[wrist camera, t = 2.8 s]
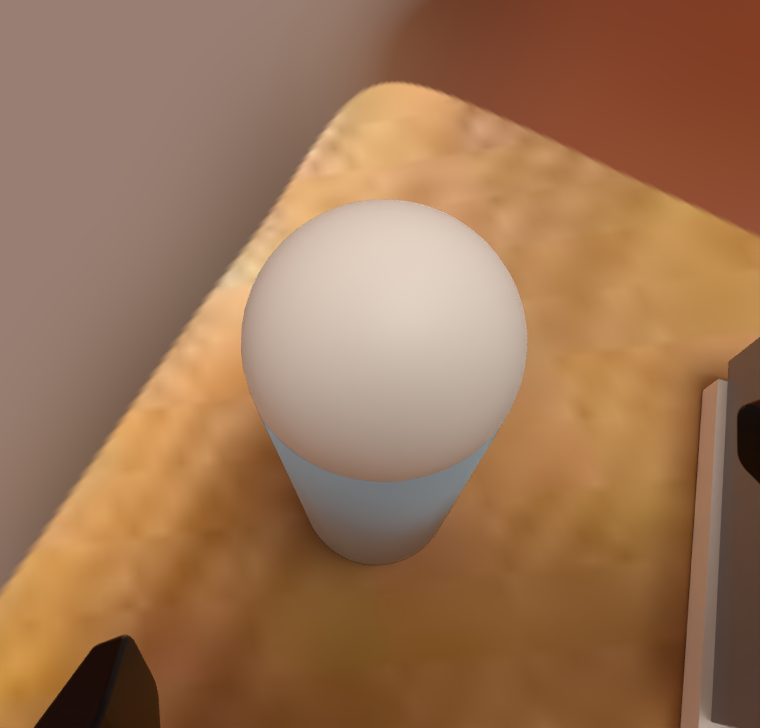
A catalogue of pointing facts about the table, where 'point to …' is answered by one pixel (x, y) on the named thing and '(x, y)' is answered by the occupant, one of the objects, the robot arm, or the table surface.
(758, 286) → the table surface
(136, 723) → the robot arm
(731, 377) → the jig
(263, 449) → the table surface
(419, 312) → the ball-topped blue post
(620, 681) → the table surface
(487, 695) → the table surface
